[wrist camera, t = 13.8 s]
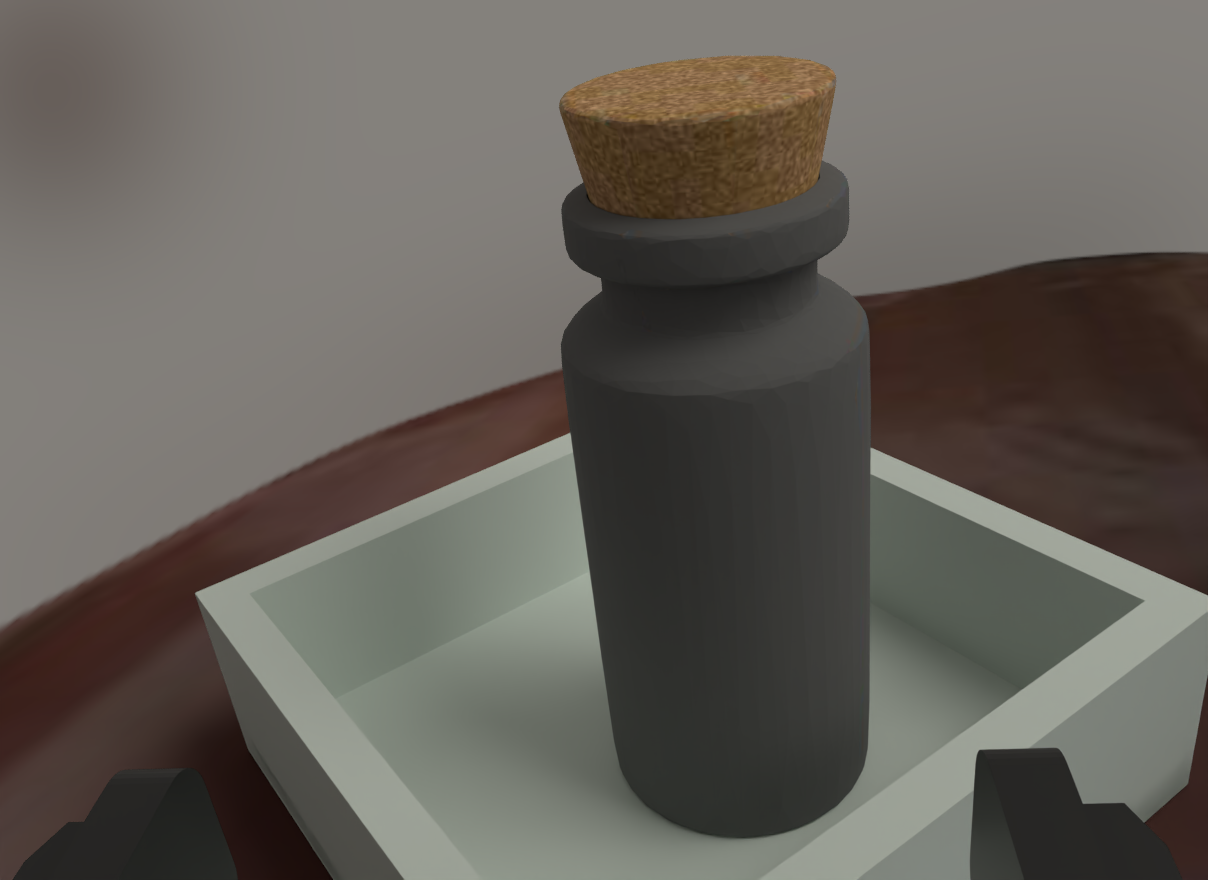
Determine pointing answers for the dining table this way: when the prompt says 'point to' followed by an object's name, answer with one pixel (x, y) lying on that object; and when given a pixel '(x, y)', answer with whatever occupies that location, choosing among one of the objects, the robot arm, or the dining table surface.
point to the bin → (580, 704)
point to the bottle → (721, 438)
